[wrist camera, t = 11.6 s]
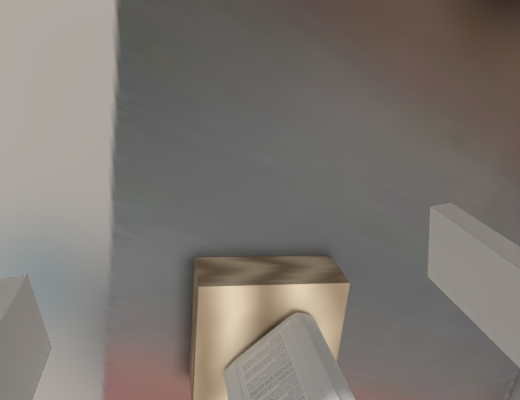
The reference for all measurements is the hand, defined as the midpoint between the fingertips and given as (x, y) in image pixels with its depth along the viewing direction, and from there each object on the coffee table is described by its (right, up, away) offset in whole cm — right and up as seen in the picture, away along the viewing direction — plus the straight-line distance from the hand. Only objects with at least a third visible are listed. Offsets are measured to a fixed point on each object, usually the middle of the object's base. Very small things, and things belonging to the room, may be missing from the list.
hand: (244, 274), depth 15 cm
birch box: (0, -10, +34) cm, 36 cm away
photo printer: (+1, -12, +29) cm, 31 cm away
